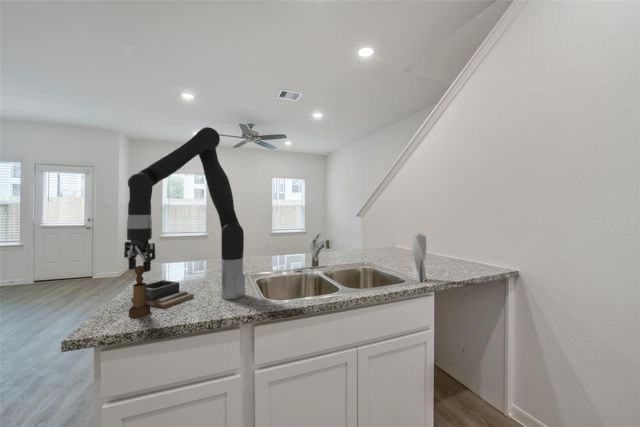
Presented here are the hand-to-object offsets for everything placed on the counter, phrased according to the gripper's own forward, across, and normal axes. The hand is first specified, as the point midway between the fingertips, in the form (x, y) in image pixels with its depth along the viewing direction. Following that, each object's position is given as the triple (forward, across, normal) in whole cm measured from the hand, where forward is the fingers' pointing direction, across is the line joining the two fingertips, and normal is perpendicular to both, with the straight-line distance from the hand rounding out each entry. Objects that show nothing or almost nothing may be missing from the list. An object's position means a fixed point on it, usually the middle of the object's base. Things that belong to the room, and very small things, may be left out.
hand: (139, 270), depth 94 cm
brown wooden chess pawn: (+16, 0, 0) cm, 17 cm away
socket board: (+16, +7, -14) cm, 22 cm away
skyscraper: (+15, -95, -94) cm, 134 cm away
